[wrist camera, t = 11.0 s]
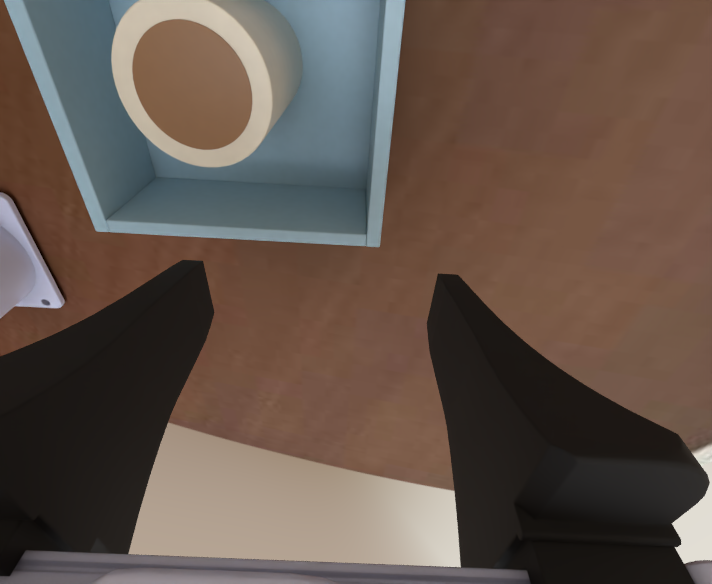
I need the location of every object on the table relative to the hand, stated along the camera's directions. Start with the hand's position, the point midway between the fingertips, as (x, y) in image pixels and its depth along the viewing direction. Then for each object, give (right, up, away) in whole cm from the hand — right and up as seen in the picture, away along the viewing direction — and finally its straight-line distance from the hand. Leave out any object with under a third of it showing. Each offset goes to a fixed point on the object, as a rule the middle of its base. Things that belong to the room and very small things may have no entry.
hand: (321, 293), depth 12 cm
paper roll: (-4, +10, +5) cm, 12 cm away
